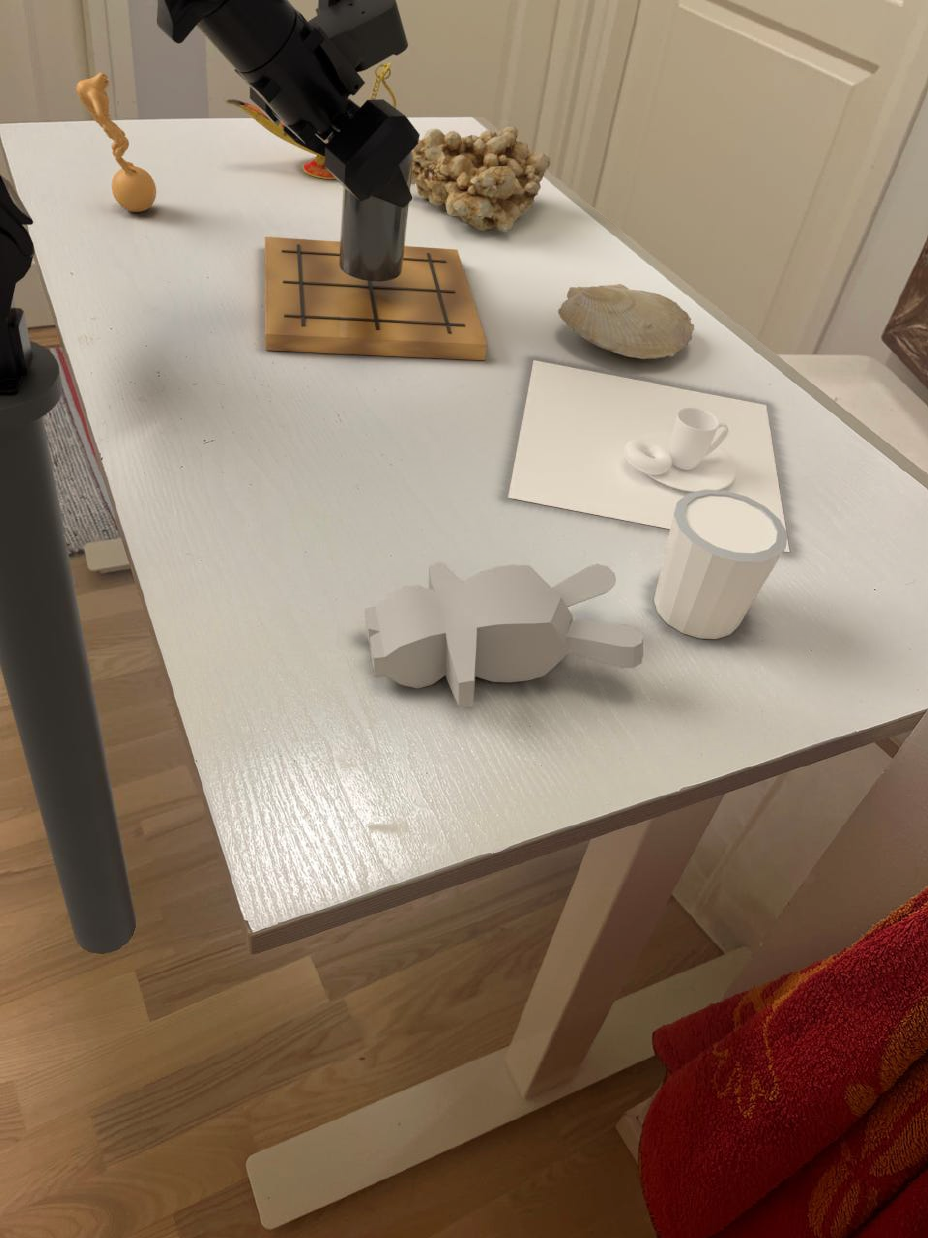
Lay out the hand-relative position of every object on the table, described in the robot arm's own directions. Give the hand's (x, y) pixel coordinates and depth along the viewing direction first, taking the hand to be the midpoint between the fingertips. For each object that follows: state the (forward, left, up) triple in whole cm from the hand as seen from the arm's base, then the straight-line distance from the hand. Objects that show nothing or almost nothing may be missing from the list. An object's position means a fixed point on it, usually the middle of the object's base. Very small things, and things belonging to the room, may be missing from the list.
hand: (391, 188), depth 81 cm
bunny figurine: (+3, -44, -10) cm, 45 cm away
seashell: (+21, -5, -10) cm, 24 cm away
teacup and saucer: (+19, -21, -10) cm, 30 cm away
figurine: (-23, +16, -10) cm, 30 cm away
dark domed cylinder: (-1, -1, -7) cm, 7 cm away
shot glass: (+17, -40, -10) cm, 44 cm away
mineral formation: (+13, +21, -10) cm, 27 cm away
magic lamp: (-5, +30, -10) cm, 32 cm away
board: (-1, -1, -10) cm, 10 cm away
